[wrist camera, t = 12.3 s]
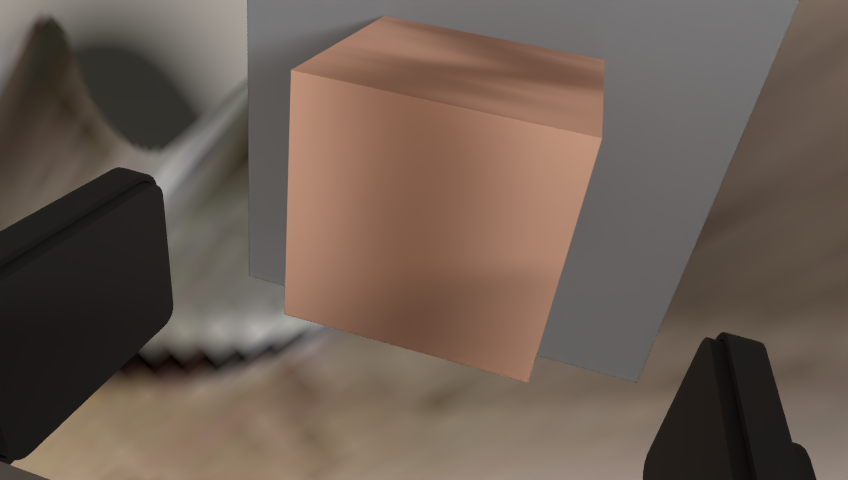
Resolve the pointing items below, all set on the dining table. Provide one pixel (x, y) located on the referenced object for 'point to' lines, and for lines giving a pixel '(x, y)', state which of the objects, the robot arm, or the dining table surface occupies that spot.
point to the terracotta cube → (438, 188)
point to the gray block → (617, 156)
